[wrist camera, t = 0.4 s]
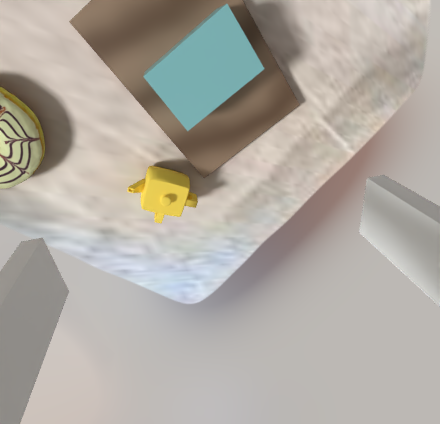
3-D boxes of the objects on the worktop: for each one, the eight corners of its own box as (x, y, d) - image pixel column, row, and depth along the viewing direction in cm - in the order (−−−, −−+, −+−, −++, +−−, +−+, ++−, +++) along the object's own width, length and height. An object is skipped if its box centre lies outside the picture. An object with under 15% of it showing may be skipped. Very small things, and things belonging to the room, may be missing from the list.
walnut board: (72, 22, 28) (69, 21, 27) (189, -91, 26) (190, -96, 25) (202, 174, 38) (204, 178, 37) (295, 102, 36) (299, 104, 35)
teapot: (124, 200, 38) (120, 221, 33) (134, 157, 35) (131, 174, 31) (185, 213, 40) (189, 234, 36) (198, 174, 38) (204, 191, 33)
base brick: (144, 71, 30) (143, 76, 26) (216, 8, 29) (227, 3, 24) (183, 119, 33) (187, 131, 29) (249, 65, 32) (264, 68, 27)
